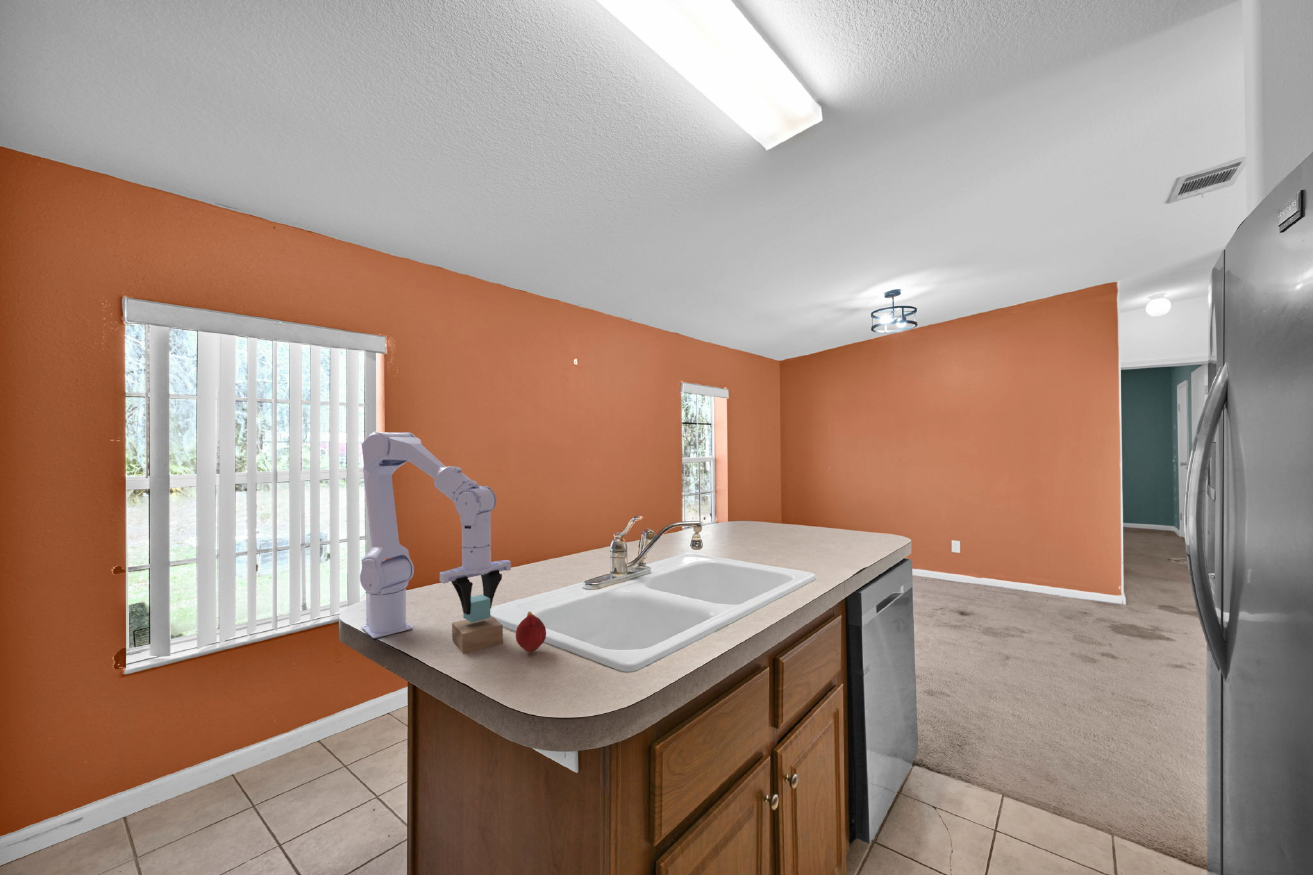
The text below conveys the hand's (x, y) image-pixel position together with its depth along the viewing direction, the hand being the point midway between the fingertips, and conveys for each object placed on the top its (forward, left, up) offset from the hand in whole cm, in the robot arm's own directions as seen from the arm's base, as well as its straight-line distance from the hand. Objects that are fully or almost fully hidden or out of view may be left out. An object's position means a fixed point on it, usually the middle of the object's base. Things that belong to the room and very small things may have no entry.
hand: (477, 610), depth 104 cm
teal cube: (0, 0, -2) cm, 2 cm away
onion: (+13, +5, -7) cm, 15 cm away
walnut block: (0, 0, -7) cm, 7 cm away
